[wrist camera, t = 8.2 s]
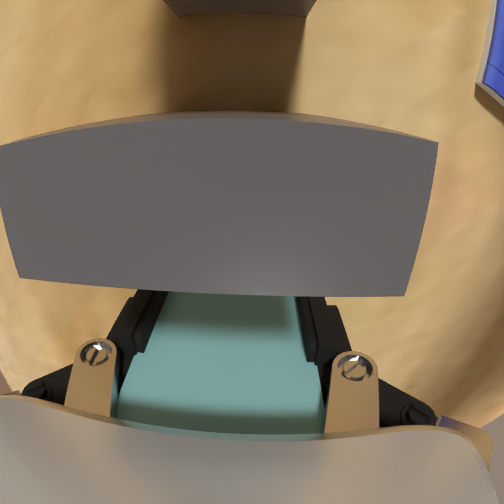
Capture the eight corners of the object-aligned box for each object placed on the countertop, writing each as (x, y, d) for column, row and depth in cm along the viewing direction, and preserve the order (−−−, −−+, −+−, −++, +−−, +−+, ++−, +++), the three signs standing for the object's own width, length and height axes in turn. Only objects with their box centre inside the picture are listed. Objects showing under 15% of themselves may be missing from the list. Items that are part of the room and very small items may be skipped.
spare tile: (177, 257, 13) (92, 471, 4) (295, 262, 13) (337, 492, 4) (181, 292, 14) (118, 495, 5) (291, 297, 14) (318, 512, 5)
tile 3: (175, 111, 11) (-9, 148, 2) (303, 113, 11) (438, 142, 2) (176, 155, 12) (19, 278, 3) (300, 157, 12) (404, 295, 3)
